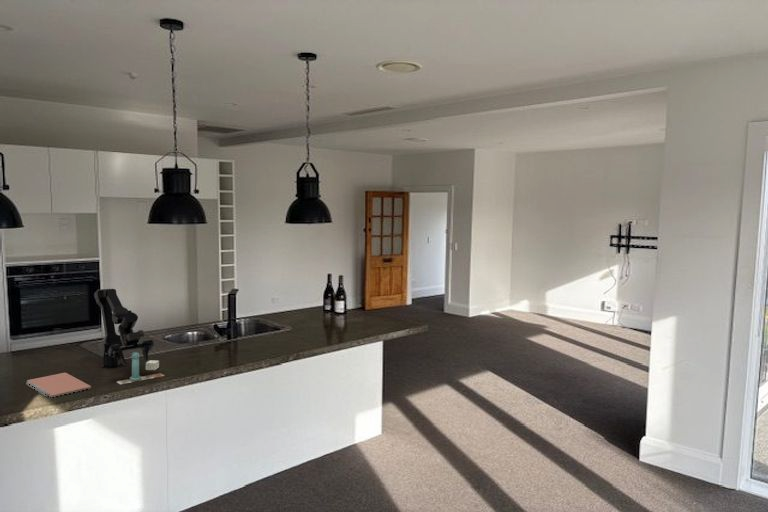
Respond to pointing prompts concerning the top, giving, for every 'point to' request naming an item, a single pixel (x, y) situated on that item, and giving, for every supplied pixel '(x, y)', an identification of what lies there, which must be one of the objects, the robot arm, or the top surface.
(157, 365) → the die
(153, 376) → the board
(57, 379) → the notebook
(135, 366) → the pawn
